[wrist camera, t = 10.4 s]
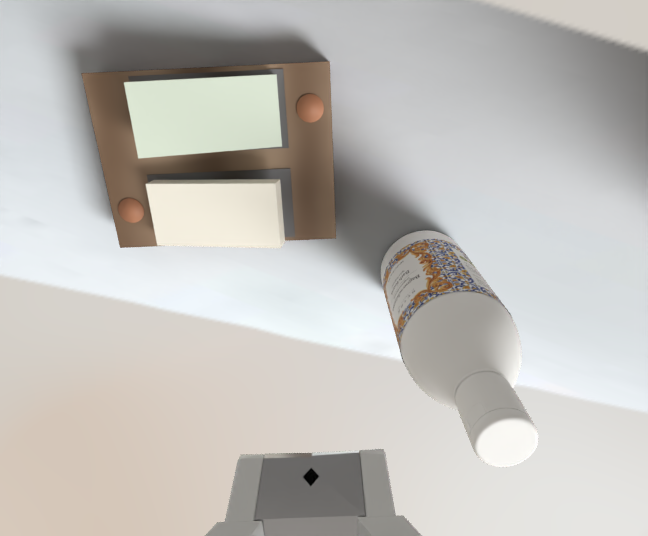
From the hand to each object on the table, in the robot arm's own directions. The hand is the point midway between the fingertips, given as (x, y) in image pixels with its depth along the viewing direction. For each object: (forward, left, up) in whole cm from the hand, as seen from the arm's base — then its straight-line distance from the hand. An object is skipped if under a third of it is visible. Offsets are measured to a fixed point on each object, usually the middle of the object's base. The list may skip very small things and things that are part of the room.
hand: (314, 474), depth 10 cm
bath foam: (-8, +8, -29) cm, 31 cm away
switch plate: (+7, -2, -29) cm, 30 cm away
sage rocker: (+7, -5, -25) cm, 26 cm away
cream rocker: (+7, +1, -25) cm, 26 cm away
